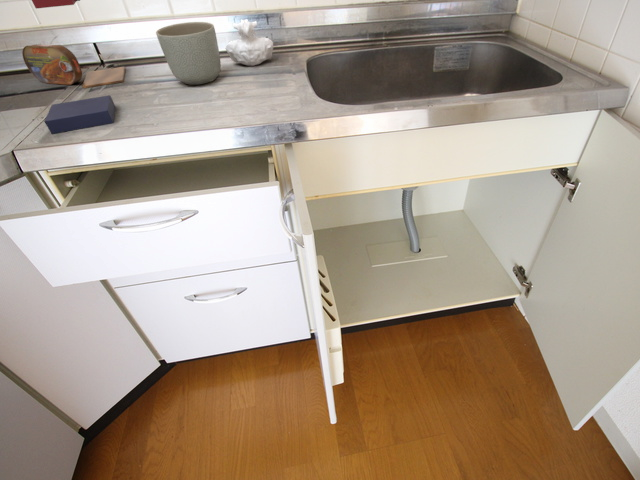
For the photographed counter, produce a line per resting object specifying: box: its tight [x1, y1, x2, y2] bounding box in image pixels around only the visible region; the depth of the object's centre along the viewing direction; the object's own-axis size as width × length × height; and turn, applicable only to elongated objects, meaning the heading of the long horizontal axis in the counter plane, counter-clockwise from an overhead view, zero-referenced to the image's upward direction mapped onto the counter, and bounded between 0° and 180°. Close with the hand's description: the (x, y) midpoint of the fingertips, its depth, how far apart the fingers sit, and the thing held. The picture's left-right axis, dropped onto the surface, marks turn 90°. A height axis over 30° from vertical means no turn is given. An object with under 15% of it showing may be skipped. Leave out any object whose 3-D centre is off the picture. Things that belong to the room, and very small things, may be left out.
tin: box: [21, 43, 83, 86], centre depth 94 cm, size 15×3×8 cm, turn 72°
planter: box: [155, 21, 222, 86], centre depth 90 cm, size 12×12×11 cm
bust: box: [225, 18, 274, 67], centre depth 98 cm, size 12×8×11 cm
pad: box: [81, 66, 126, 89], centre depth 98 cm, size 9×12×1 cm
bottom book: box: [43, 94, 117, 135], centre depth 78 cm, size 11×9×2 cm
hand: (58, 0), depth 80 cm, fingers closed on top book, 6 cm apart
